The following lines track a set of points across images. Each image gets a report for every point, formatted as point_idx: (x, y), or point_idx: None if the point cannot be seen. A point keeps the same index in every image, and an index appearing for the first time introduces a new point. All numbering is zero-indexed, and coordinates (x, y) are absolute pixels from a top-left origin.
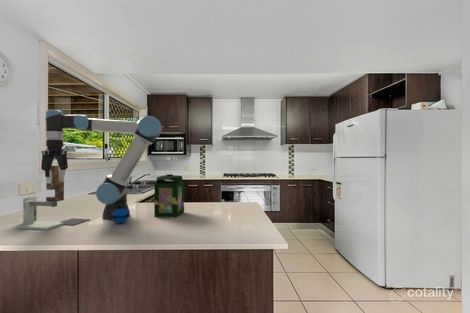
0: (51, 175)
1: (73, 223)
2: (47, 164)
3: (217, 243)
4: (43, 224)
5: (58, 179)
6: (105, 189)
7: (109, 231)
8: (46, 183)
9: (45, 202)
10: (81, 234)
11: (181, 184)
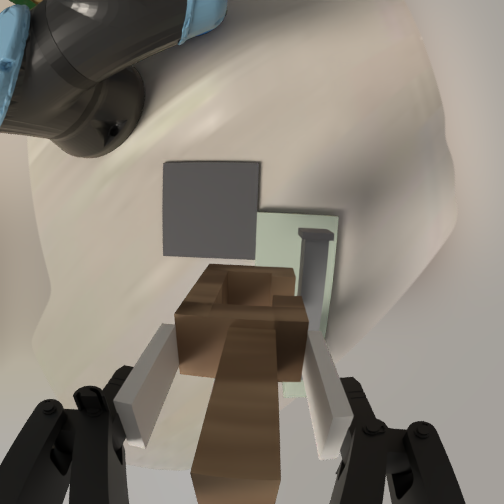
0: (325, 377)
1: (239, 180)
2: (423, 481)
3: None
4: (295, 273)
5: (227, 342)
6: None
7: (302, 5)
8: (300, 378)
9: (324, 286)
10: (353, 63)
11: None
